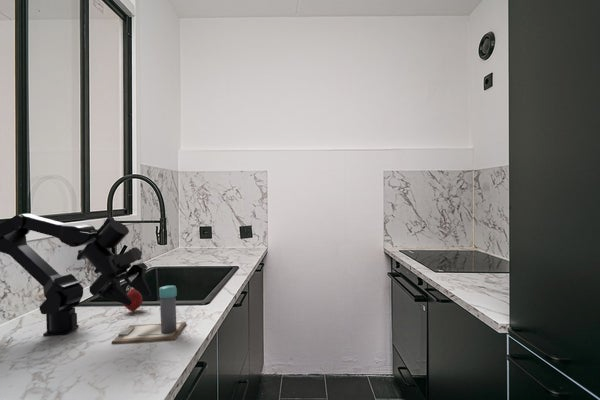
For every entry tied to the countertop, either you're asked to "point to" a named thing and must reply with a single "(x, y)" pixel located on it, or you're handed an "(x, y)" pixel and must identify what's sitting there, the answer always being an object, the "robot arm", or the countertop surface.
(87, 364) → the countertop surface
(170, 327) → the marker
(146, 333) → the clipboard
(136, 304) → the red rounded piece
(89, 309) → the countertop surface
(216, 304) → the countertop surface
